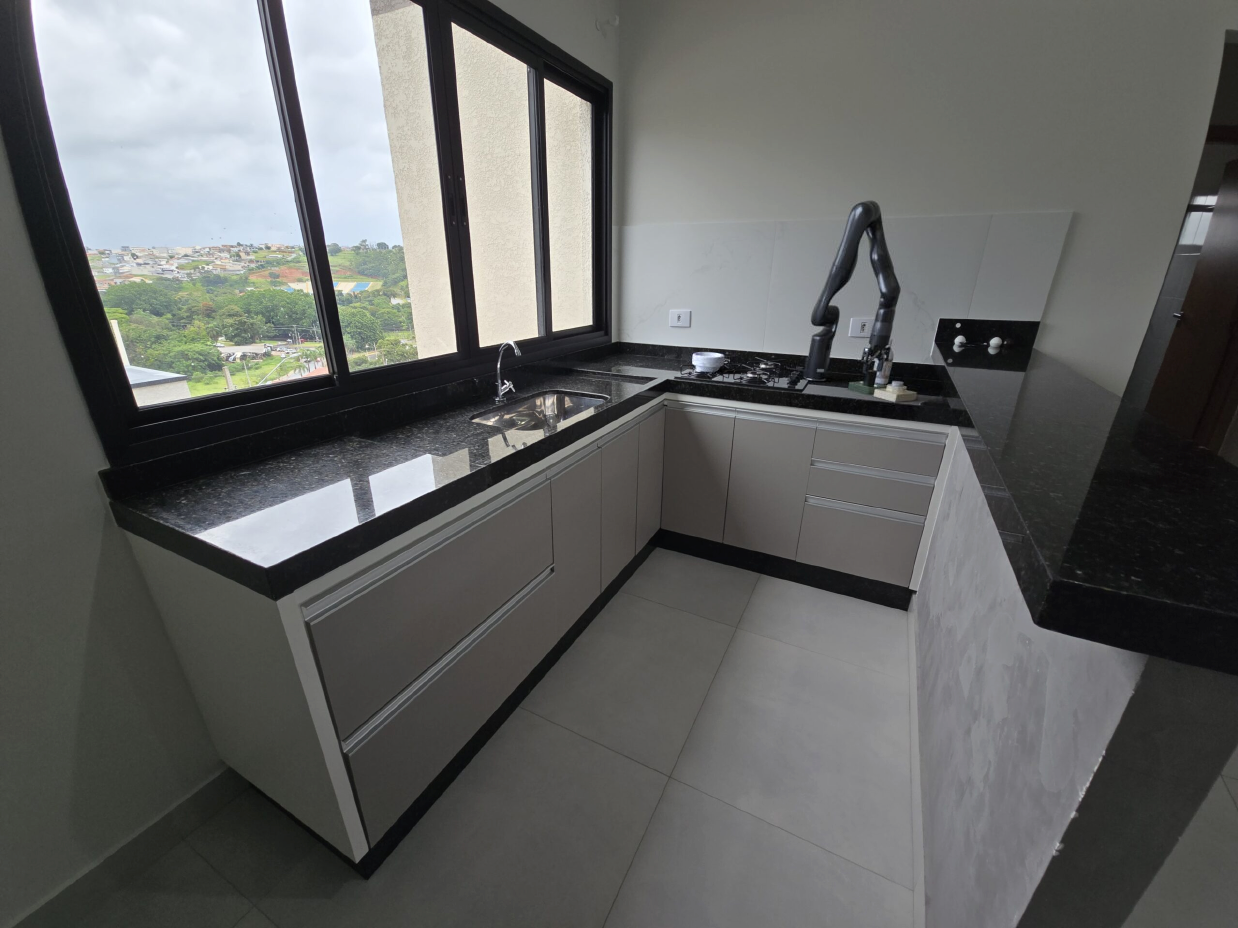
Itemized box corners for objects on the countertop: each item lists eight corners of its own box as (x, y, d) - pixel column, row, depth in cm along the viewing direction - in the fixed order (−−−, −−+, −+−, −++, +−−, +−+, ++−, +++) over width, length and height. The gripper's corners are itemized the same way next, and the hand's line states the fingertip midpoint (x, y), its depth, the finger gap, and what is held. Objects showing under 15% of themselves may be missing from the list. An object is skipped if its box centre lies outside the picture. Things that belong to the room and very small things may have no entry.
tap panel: (847, 389, 218) (849, 382, 217) (867, 387, 223) (868, 380, 222) (867, 394, 210) (868, 387, 209) (887, 392, 215) (888, 385, 214)
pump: (889, 386, 205) (890, 381, 204) (895, 385, 206) (896, 380, 206) (897, 388, 201) (899, 383, 201) (904, 387, 203) (905, 382, 202)
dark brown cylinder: (869, 385, 213) (872, 371, 211) (860, 383, 216) (863, 369, 214) (876, 384, 214) (879, 371, 212) (868, 382, 218) (870, 369, 216)
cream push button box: (873, 396, 207) (876, 384, 206) (893, 394, 212) (896, 382, 210) (895, 402, 199) (898, 389, 197) (915, 399, 204) (918, 387, 202)
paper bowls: (725, 373, 239) (727, 356, 236) (693, 373, 239) (694, 356, 237) (720, 368, 253) (721, 352, 251) (690, 367, 254) (691, 351, 251)
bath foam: (882, 385, 230) (892, 340, 223) (867, 382, 235) (877, 338, 228) (890, 383, 233) (900, 339, 226) (876, 380, 239) (886, 337, 232)
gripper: (884, 331, 214) (875, 369, 221) (861, 332, 208) (853, 371, 214) (900, 334, 208) (890, 373, 214) (877, 335, 202) (868, 375, 208)
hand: (871, 372), depth 214 cm, fingers open, 8 cm apart
